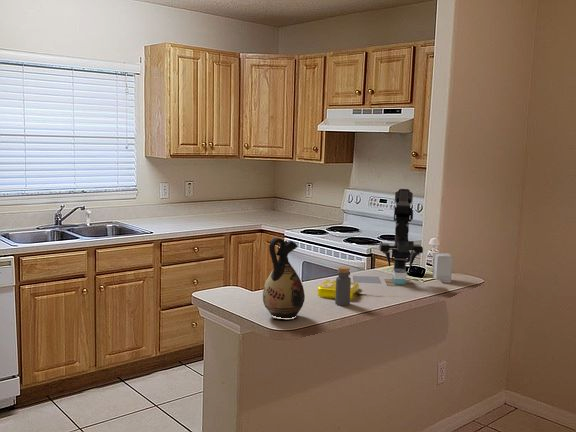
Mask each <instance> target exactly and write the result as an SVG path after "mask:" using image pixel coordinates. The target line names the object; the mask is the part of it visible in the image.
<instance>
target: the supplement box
mask: <svg viewBox="0 0 576 432" xmlns="http://www.w3.org/2000/svg"><path fill="white" fill-rule="evenodd" d="M453 258H454V257H453V255H451V254H450V253H449V252H448V253H446V252H445V253H443V252H440V253H439V252H435V253H433V260H432V261H433V263H432V277H433V278H434V279H435V280H439V281H440V282H441V283H447V284H448V283H451V282H452V274H453V262H454V261H453Z"/></svg>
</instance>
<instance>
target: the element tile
mask: <svg viewBox="0 0 576 432" xmlns="http://www.w3.org/2000/svg"><path fill="white" fill-rule="evenodd" d="M359 287H360V285H359V283H356V282H355V283H354V282H353V281H351V287H350V301H353V300H354V299H355V298H356V297H357V296H358V294H359V293H358V291H359ZM335 295H336V280H332V279H326V280H325V281H324V282H322V283H321V284H320V285H318V287H317V297H318V296H320V297H319V298H323V297H326V298H325V299H331V298H334V299H333V300H335ZM355 296H356V297H355Z"/></svg>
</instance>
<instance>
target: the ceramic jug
mask: <svg viewBox="0 0 576 432" xmlns="http://www.w3.org/2000/svg"><path fill="white" fill-rule="evenodd" d="M278 244H279V247H278V249H277V252H276V245H278ZM268 247H269V248H268V249H269V254H270V258H271V263H272V264H273V267H272V268H273V269H272V270H271V272H270V274H269V275H268V277H267V279H266V281H265V283H264V286H263V291H262V302H263V305H264V308H265V309H267V311H268V312H269V314H270V315H273V316H276V317H281V318H292V317H295V316H296V317H297V315H298V314H299V312H300V311H301V310H302V309H303V308H302V307H304V306H303V305H304V303H305V296H306V295H305V290H304V286H303V283H302V280H301V278H300V276H299V275H298V274H297V272H296V270H295V269H294V267H293V266H292V264H291V263H290V262H289V257H288V255H289V254H290V253H291V252H293V251H294V250H295V249H297V248H298V245H297V244H296V242H294V241H293V240H289V241H288V240H284V239H283V238H281V237H275V238H272V239H271V240H270V242H269V246H268ZM277 256H278V257H277Z"/></svg>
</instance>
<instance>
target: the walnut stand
mask: <svg viewBox="0 0 576 432" xmlns="http://www.w3.org/2000/svg"><path fill="white" fill-rule="evenodd" d="M383 280H384V282H385V285H386V286H387V287H406V288H408V287H409V288H410V287H411V288H415V285H414V284H413V282H412V280H410V279H406V285H394V283H393V281H392V278H384V279H383Z"/></svg>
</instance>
